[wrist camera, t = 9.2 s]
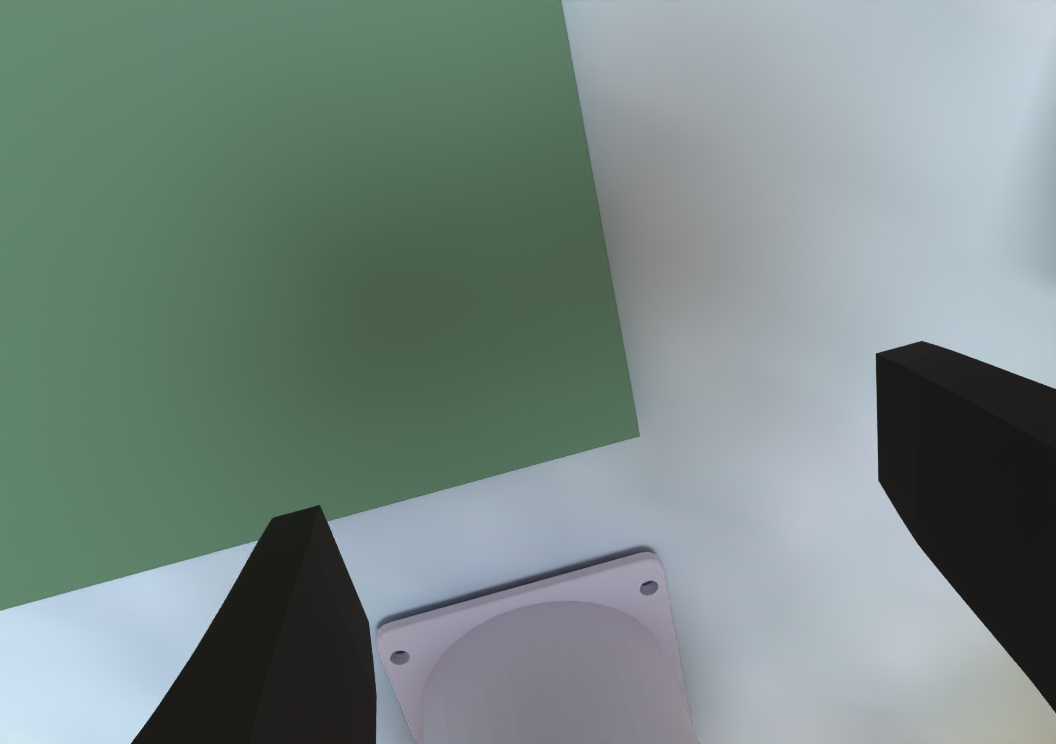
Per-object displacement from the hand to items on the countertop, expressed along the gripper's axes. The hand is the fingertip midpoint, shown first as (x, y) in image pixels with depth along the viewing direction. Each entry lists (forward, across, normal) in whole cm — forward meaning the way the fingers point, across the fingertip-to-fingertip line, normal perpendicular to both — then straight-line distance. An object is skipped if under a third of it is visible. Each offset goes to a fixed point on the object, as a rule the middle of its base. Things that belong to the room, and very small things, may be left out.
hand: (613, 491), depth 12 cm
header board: (+10, +10, -4) cm, 15 cm away
